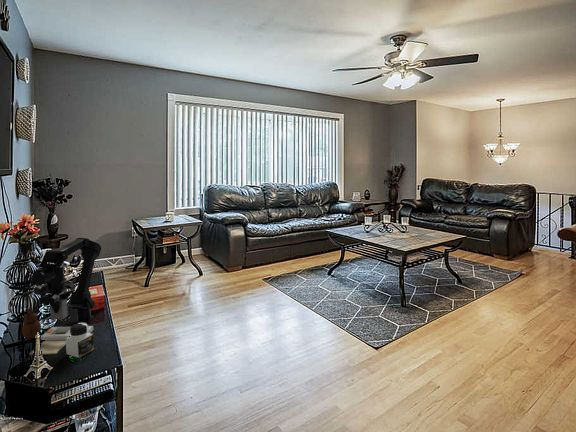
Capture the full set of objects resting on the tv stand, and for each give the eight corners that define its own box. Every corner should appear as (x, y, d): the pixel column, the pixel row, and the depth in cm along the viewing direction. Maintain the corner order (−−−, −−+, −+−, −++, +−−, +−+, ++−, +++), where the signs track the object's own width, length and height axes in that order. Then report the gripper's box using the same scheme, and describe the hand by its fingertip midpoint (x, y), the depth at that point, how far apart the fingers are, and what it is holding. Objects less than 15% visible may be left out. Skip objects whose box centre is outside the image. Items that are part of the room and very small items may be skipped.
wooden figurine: (30, 342, 149) (27, 309, 146) (19, 340, 150) (16, 308, 148) (44, 334, 155) (41, 303, 153) (34, 333, 156) (31, 302, 154)
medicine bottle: (78, 358, 137) (77, 330, 136) (66, 354, 140) (64, 327, 138) (94, 349, 144) (92, 322, 142) (82, 346, 146) (80, 319, 145)
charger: (56, 315, 155) (54, 295, 154) (67, 315, 156) (66, 295, 155) (51, 319, 151) (49, 299, 150) (63, 319, 152) (61, 298, 151)
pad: (43, 342, 148) (43, 341, 148) (68, 341, 150) (68, 340, 150) (29, 355, 139) (29, 353, 139) (55, 353, 140) (55, 352, 140)
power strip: (52, 331, 159) (52, 325, 158) (93, 329, 161) (93, 324, 160) (41, 340, 150) (40, 335, 149) (84, 339, 152) (84, 333, 152)
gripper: (49, 271, 159) (51, 303, 161) (23, 285, 141) (26, 321, 143) (74, 271, 161) (76, 302, 163) (52, 284, 142) (55, 320, 144)
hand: (59, 311), depth 153 cm, fingers closed on charger, 4 cm apart
